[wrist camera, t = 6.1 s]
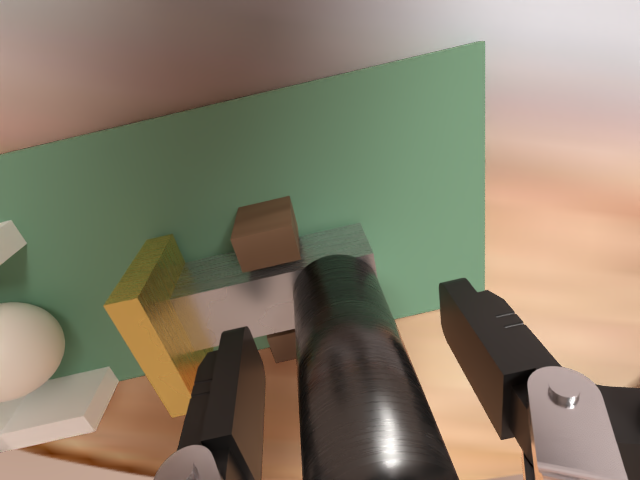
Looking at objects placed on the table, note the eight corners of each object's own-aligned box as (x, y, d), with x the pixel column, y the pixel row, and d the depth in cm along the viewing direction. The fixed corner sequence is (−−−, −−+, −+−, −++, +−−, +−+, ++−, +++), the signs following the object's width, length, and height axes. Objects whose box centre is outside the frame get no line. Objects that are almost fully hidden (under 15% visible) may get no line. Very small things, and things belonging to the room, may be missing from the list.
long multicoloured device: (354, 191, 14) (459, 407, 6) (373, 297, 17) (466, 556, 8) (146, 240, 14) (-37, 517, 6) (194, 337, 17) (110, 632, 8)
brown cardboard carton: (238, 207, 14) (230, 239, 12) (289, 195, 14) (291, 225, 12) (276, 319, 17) (275, 363, 15) (320, 309, 17) (326, 351, 15)
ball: (21, 320, 12) (42, 272, 15) (-112, 370, 11) (-61, 309, 14) (76, 393, 14) (86, 337, 17) (-35, 443, 13) (-4, 374, 16)
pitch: (-145, 188, 13) (-156, 192, 13) (479, 41, 13) (484, 41, 12) (31, 394, 18) (26, 401, 18) (480, 293, 18) (484, 298, 18)
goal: (-98, 242, 14) (-185, 288, 12) (18, 215, 14) (-42, 256, 12) (31, 394, 18) (-10, 455, 16) (122, 374, 18) (95, 431, 16)
